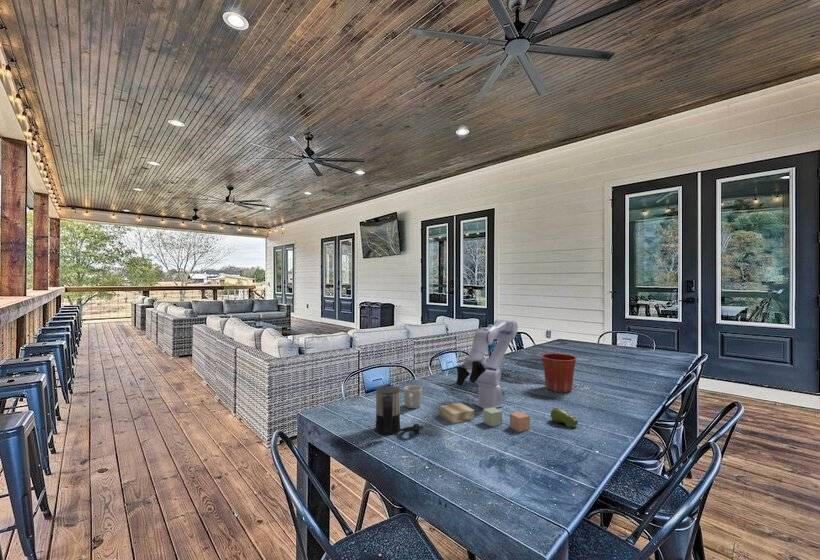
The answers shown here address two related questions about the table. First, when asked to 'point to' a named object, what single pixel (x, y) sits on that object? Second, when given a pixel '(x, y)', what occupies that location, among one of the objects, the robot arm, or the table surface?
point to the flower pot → (559, 371)
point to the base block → (456, 412)
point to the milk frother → (389, 411)
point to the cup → (412, 396)
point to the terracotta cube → (520, 421)
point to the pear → (563, 417)
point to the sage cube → (492, 416)
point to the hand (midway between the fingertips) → (465, 383)
